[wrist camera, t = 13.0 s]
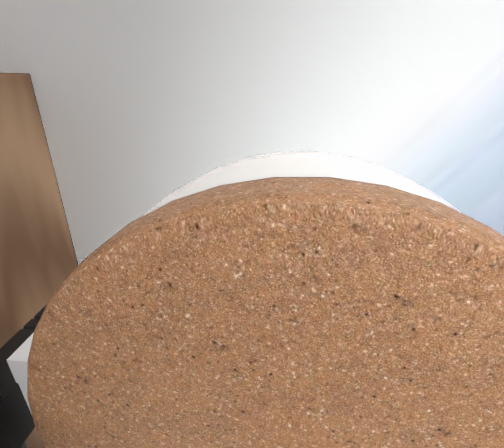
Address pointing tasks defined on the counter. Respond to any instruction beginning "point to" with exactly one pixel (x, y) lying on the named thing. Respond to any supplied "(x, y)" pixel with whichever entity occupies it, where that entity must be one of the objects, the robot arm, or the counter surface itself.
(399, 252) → the lidded jar
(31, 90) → the open wooden tray
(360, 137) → the counter surface
